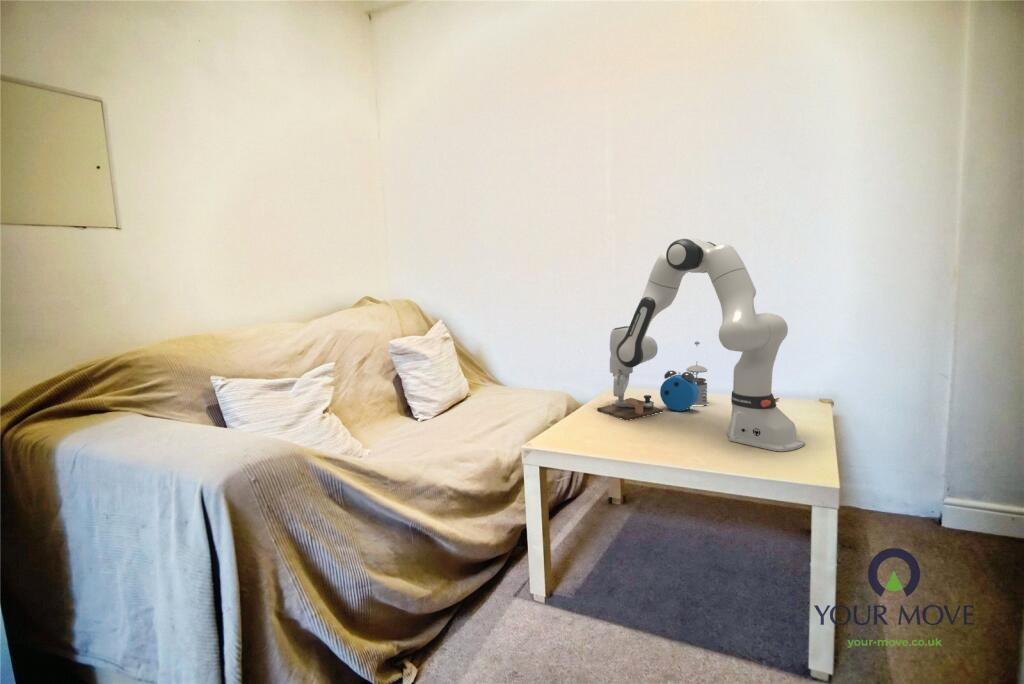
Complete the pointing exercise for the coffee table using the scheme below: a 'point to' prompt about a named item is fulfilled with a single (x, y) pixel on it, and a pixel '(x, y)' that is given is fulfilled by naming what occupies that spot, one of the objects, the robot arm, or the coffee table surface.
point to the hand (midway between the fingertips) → (621, 402)
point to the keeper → (636, 404)
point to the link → (622, 403)
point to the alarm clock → (679, 391)
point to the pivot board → (627, 411)
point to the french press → (699, 383)
